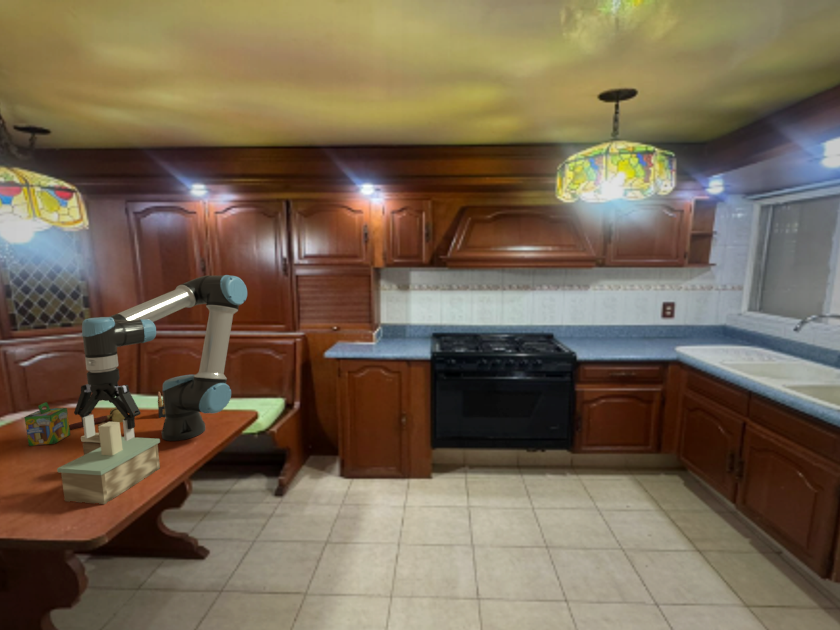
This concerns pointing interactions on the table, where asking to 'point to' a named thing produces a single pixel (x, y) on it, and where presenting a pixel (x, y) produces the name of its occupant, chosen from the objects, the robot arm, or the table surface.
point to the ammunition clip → (160, 406)
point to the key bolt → (92, 439)
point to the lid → (108, 452)
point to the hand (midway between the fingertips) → (109, 437)
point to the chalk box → (47, 425)
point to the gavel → (102, 419)
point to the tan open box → (109, 477)
